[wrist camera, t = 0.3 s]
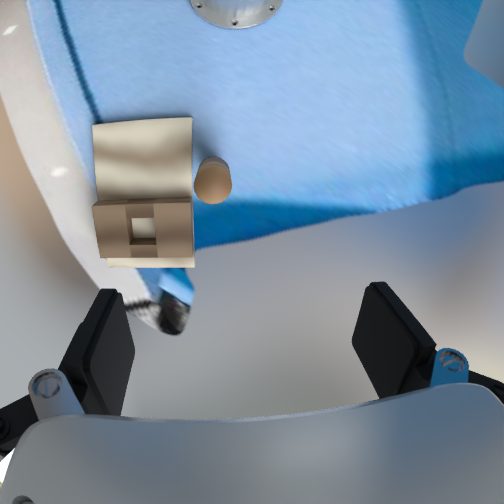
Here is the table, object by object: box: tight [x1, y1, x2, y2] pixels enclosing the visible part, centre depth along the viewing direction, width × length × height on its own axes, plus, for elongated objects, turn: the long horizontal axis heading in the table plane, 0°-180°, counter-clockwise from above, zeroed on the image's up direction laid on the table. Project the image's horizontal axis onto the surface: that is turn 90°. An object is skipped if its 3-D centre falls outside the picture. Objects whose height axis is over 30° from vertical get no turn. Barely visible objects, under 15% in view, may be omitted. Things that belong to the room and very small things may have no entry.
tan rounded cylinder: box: [194, 157, 232, 204], centre depth 36 cm, size 4×4×10 cm
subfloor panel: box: [92, 117, 195, 267], centre depth 40 cm, size 22×14×4 cm, turn 177°
